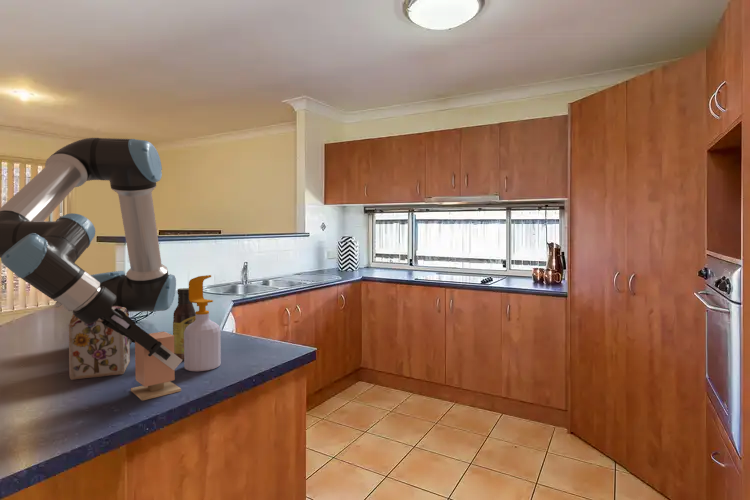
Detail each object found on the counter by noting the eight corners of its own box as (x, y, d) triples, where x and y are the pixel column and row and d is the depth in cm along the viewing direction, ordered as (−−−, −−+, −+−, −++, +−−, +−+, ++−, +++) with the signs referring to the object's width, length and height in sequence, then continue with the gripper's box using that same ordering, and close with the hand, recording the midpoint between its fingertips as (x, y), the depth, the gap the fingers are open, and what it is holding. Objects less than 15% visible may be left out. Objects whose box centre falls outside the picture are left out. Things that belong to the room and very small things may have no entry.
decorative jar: (80, 366, 113) (79, 299, 112) (130, 361, 117) (129, 297, 117) (68, 381, 102) (66, 306, 101) (124, 375, 106) (122, 303, 106)
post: (130, 390, 95) (130, 358, 95) (167, 382, 101) (167, 352, 101) (142, 400, 90) (141, 366, 89) (181, 391, 95) (180, 359, 95)
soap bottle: (198, 374, 107) (197, 277, 106) (177, 368, 112) (176, 275, 111) (228, 365, 114) (227, 274, 114) (206, 359, 119) (205, 273, 118)
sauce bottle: (187, 361, 118) (186, 290, 117) (167, 359, 119) (166, 289, 118) (201, 354, 124) (201, 287, 123) (182, 353, 125) (182, 286, 125)
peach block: (135, 379, 95) (134, 335, 95) (164, 373, 99) (164, 331, 99) (144, 386, 91) (144, 340, 90) (174, 380, 95) (174, 335, 95)
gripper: (61, 307, 90) (145, 366, 102) (82, 320, 77) (176, 386, 89) (90, 280, 94) (168, 340, 106) (114, 288, 80) (200, 356, 93)
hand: (171, 361), depth 98 cm, fingers closed on peach block, 6 cm apart
